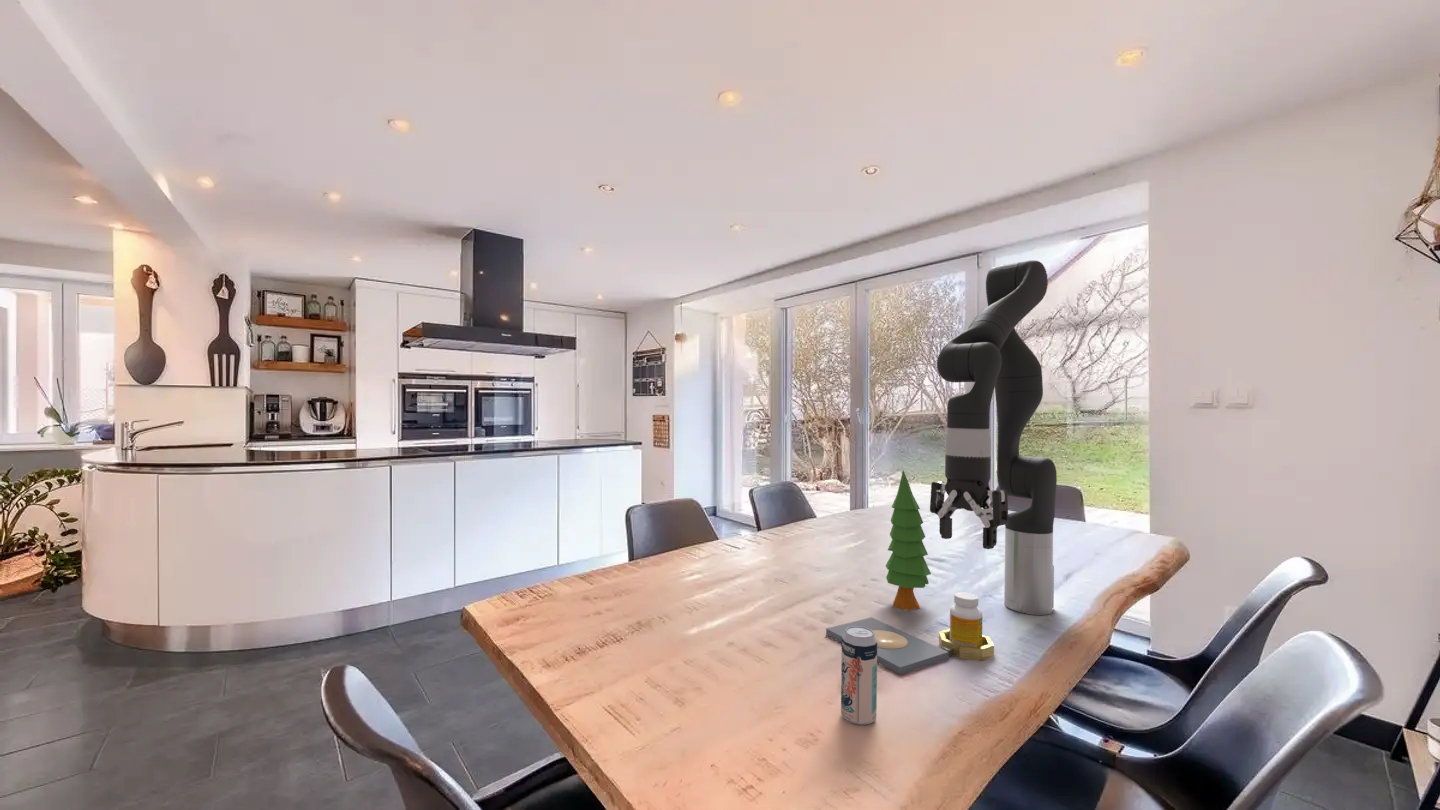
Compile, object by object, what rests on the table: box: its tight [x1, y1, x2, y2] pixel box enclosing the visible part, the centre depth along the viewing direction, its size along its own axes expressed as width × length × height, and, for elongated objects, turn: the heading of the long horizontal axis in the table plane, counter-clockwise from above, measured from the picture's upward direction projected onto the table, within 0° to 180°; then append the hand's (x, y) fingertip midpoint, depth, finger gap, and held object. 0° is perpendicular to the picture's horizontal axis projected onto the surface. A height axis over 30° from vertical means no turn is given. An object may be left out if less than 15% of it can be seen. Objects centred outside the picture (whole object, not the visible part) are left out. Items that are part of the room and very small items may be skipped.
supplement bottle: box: [949, 591, 983, 647], centre depth 99 cm, size 5×5×10 cm
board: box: [825, 616, 950, 676], centre depth 100 cm, size 12×18×1 cm, turn 30°
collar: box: [938, 628, 995, 662], centre depth 99 cm, size 11×9×2 cm
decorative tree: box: [885, 469, 932, 611], centre depth 122 cm, size 10×9×30 cm
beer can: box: [840, 626, 878, 726], centre depth 77 cm, size 5×5×12 cm
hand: (966, 543), depth 100 cm, fingers open, 8 cm apart
